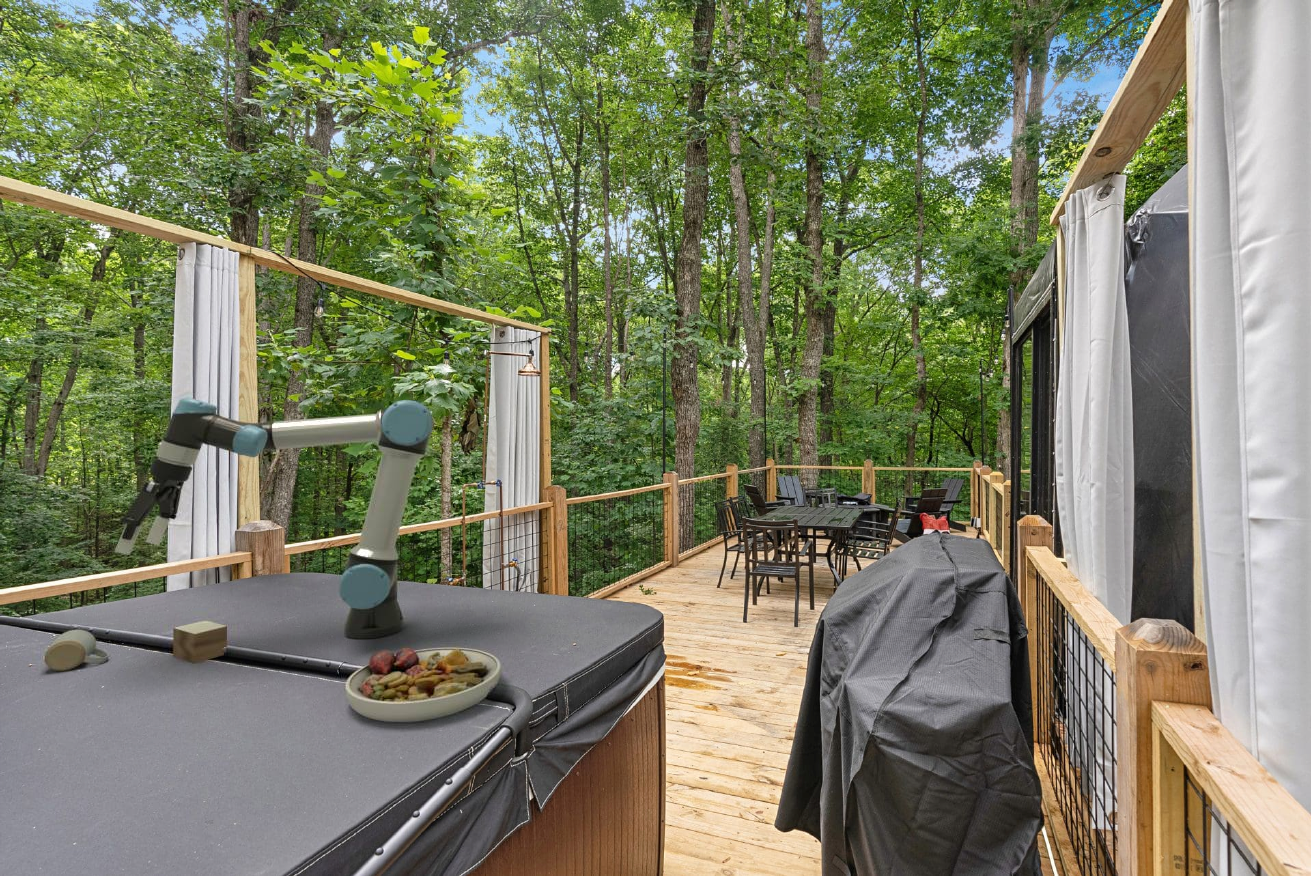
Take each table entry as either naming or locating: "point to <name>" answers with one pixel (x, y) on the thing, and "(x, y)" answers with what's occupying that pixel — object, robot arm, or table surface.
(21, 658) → the table surface
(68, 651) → the ceramic mug
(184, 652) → the walnut block
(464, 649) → the bowl
